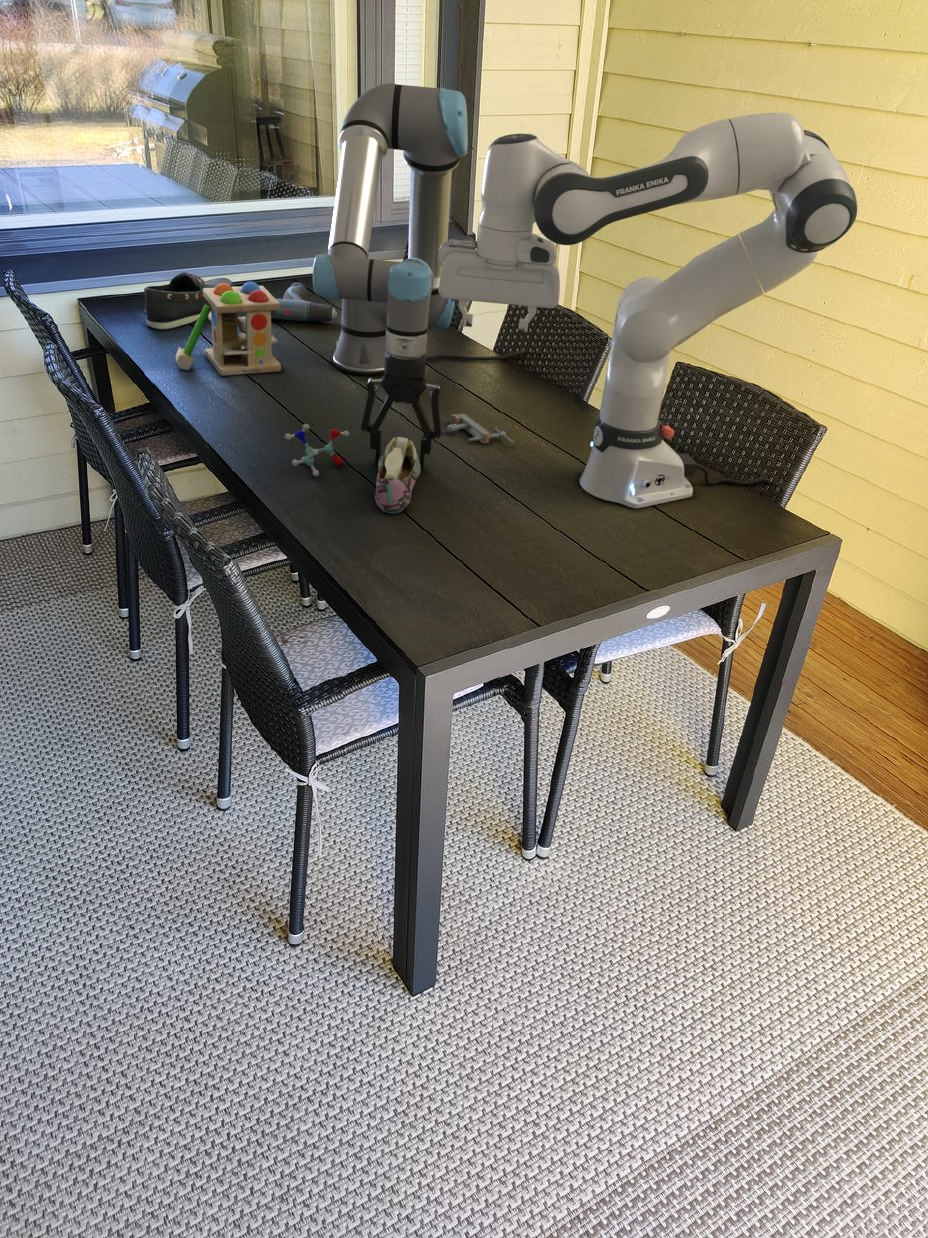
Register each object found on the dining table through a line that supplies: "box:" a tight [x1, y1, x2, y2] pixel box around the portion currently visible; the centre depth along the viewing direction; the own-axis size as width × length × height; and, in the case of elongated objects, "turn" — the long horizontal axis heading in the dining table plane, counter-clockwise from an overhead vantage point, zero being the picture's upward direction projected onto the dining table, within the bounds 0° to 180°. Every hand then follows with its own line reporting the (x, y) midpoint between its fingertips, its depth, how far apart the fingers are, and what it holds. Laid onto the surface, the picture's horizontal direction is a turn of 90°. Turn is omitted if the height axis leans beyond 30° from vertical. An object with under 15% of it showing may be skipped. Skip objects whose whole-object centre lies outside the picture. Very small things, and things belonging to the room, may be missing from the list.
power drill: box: [271, 282, 338, 322], centre depth 265 cm, size 5×19×20 cm
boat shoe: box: [143, 271, 236, 330], centre depth 257 cm, size 13×33×10 cm, turn 147°
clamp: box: [447, 413, 515, 445], centre depth 208 cm, size 15×2×10 cm
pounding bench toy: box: [174, 281, 282, 377], centre depth 225 cm, size 23×14×18 cm, turn 116°
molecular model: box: [284, 423, 350, 477], centre depth 188 cm, size 12×10×10 cm
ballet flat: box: [374, 436, 422, 514], centre depth 184 cm, size 8×24×9 cm, turn 178°
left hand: (399, 466), depth 192 cm, fingers closed on ballet flat, 8 cm apart
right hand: (495, 328), depth 167 cm, fingers open, 8 cm apart
